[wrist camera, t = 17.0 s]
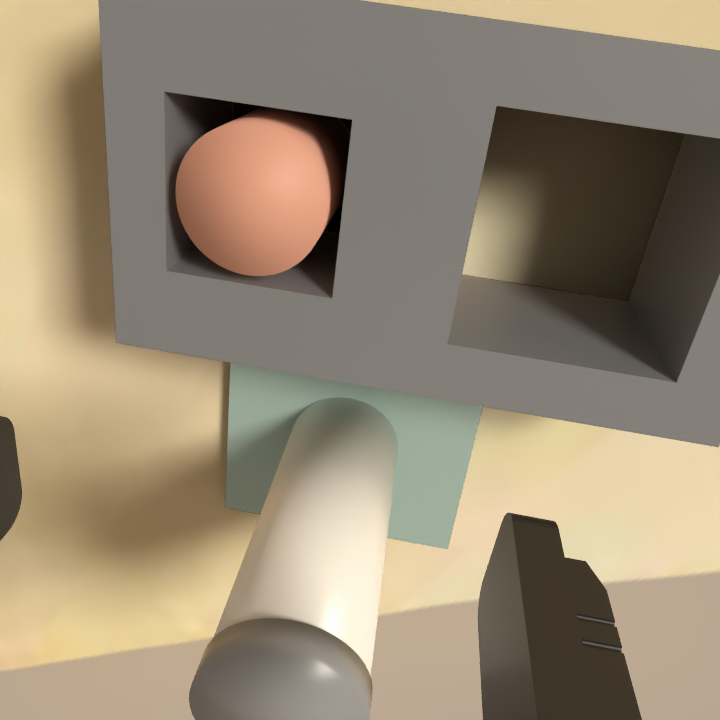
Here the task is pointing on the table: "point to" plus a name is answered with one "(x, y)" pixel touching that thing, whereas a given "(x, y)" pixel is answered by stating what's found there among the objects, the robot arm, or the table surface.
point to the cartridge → (308, 578)
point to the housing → (415, 207)
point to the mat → (403, 410)
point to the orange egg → (263, 188)
